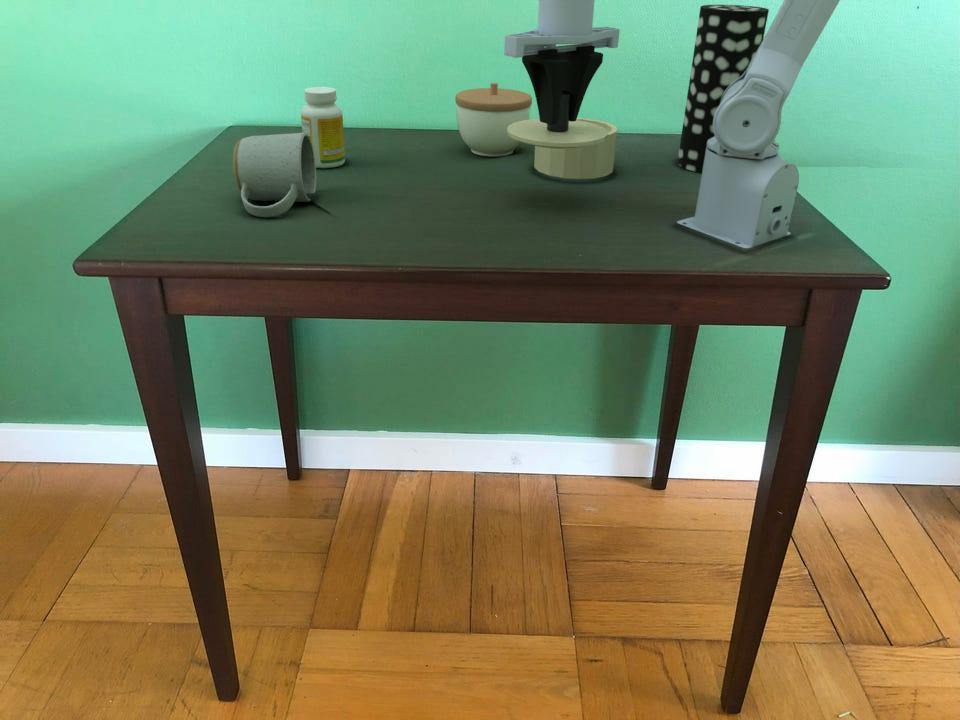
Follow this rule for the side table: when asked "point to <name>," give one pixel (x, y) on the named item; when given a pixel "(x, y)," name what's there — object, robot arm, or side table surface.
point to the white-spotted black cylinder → (716, 70)
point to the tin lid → (558, 130)
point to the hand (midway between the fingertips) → (558, 121)
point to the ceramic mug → (274, 171)
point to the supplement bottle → (324, 126)
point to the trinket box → (490, 118)
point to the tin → (579, 157)
